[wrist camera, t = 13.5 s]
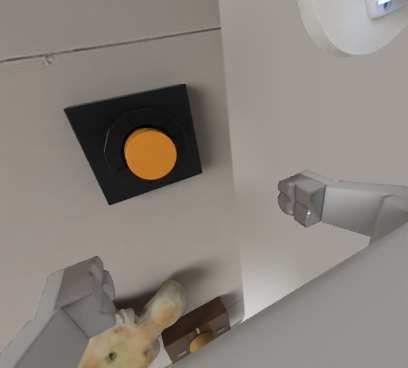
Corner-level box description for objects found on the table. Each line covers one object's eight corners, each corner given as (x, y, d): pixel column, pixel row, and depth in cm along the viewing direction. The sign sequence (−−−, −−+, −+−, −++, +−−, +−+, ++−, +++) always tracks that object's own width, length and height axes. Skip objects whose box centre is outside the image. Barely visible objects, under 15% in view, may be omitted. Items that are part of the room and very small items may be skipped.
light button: (164, 122, 17) (170, 125, 16) (175, 164, 19) (181, 171, 18) (116, 134, 16) (117, 139, 15) (133, 178, 18) (135, 186, 17)
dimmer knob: (211, 327, 34) (222, 352, 31) (214, 340, 36) (225, 365, 33) (187, 341, 33) (196, 368, 29) (191, 354, 35) (200, 381, 32)
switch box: (178, 84, 20) (193, 83, 17) (195, 166, 24) (209, 179, 21) (67, 106, 17) (58, 111, 14) (108, 195, 21) (109, 215, 18)
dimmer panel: (218, 295, 36) (227, 311, 34) (224, 320, 40) (232, 337, 38) (159, 327, 33) (164, 348, 31) (172, 352, 37) (177, 372, 35)
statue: (45, 448, 29) (191, 281, 33) (12, 537, 22) (203, 311, 26) (-24, 418, 26) (143, 242, 30) (-86, 508, 19) (142, 263, 24)
